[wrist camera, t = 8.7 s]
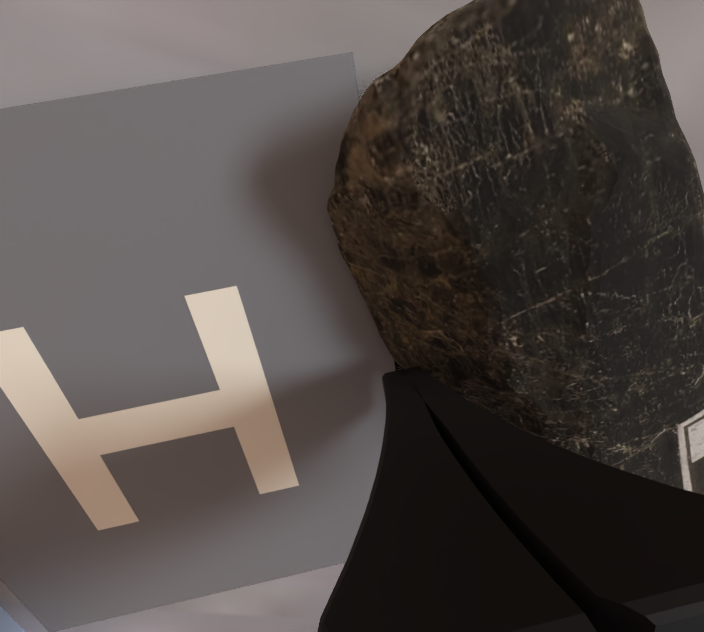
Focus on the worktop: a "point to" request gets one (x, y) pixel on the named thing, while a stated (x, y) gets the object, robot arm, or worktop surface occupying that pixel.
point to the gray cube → (8, 623)
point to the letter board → (180, 343)
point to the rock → (537, 228)
